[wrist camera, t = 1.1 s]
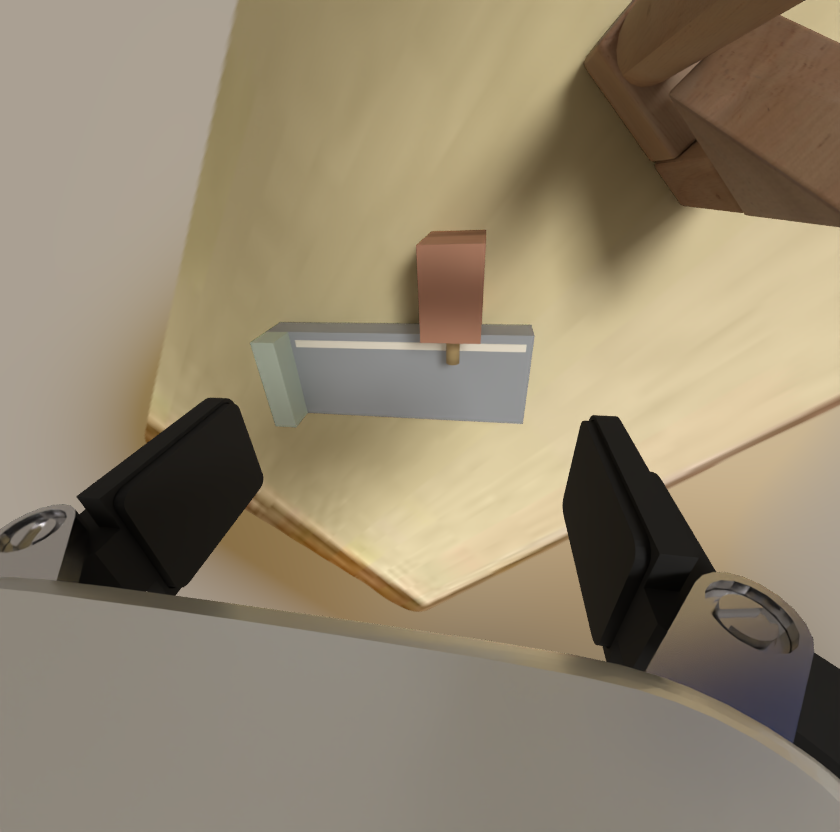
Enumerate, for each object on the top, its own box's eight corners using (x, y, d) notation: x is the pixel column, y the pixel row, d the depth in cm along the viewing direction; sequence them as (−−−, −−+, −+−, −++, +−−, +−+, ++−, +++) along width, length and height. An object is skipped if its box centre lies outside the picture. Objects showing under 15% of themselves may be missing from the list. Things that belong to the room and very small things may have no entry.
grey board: (280, 322, 33) (249, 342, 29) (531, 325, 29) (538, 348, 25) (299, 398, 37) (275, 426, 33) (520, 409, 34) (525, 440, 30)
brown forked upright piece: (680, 208, 24) (1003, 253, 9) (579, 64, 21) (805, -226, 6) (742, 156, 22) (1278, 104, 7) (640, -8, 19) (1178, -680, 4)
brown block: (431, 231, 27) (416, 245, 21) (486, 229, 26) (485, 243, 20) (434, 340, 31) (421, 376, 26) (480, 341, 31) (478, 378, 25)
